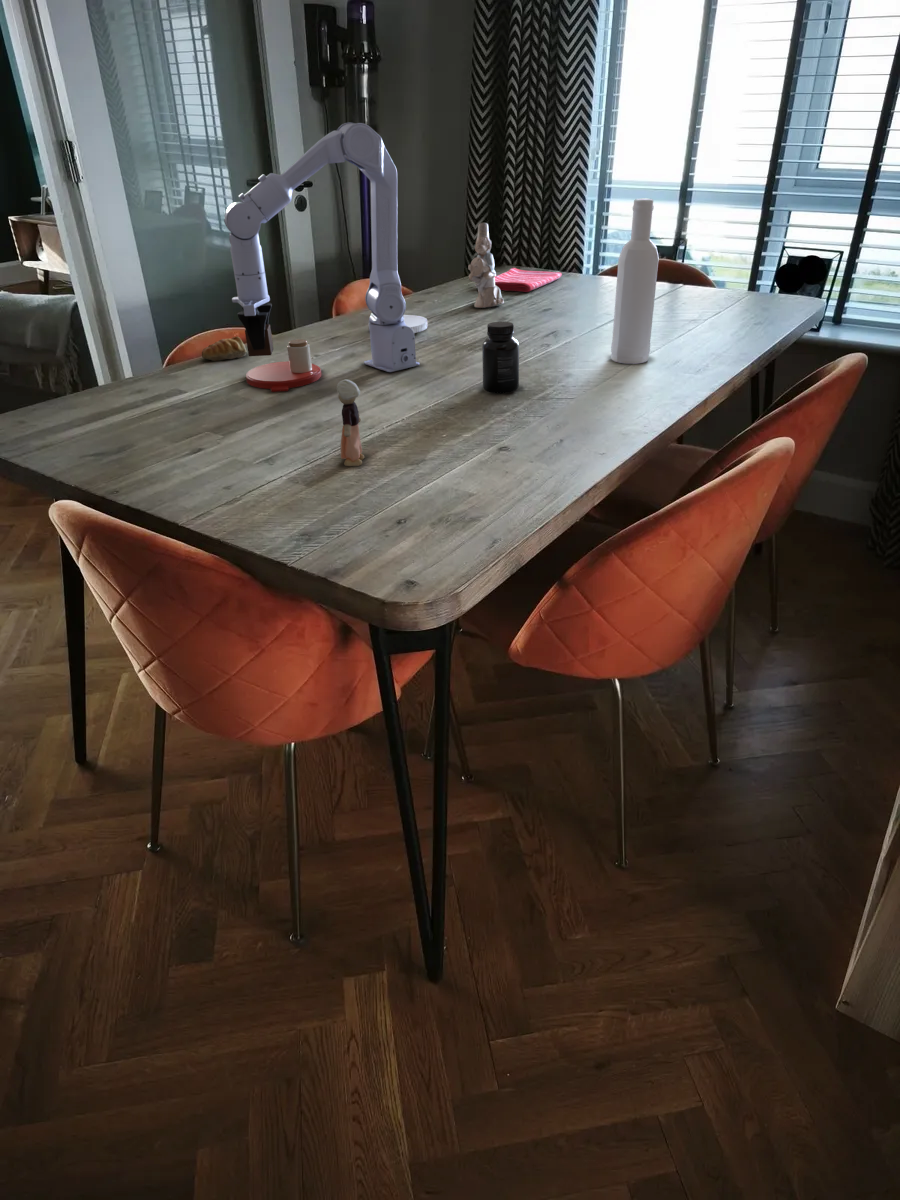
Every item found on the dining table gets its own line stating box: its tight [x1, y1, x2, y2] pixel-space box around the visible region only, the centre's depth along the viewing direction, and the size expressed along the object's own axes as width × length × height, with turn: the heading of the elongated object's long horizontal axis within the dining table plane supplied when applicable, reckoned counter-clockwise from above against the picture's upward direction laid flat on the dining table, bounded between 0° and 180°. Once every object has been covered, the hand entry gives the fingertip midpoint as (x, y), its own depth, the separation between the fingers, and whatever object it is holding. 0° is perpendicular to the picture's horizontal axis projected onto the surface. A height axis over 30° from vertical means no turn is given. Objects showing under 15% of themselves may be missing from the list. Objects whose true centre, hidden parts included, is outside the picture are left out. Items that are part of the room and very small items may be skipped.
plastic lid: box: [367, 314, 428, 334], centre depth 192 cm, size 14×14×2 cm
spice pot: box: [286, 338, 313, 373], centre depth 160 cm, size 4×4×6 cm
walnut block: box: [244, 323, 274, 357], centre depth 158 cm, size 4×4×5 cm
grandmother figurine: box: [336, 379, 365, 467], centre depth 120 cm, size 8×4×13 cm, turn 5°
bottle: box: [610, 197, 660, 365], centre depth 159 cm, size 8×8×30 cm
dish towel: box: [495, 267, 563, 293], centre depth 237 cm, size 17×24×3 cm
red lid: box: [245, 360, 322, 393], centre depth 161 cm, size 17×15×1 cm
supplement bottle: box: [481, 321, 520, 395], centre depth 149 cm, size 7×7×12 cm
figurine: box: [467, 222, 505, 309], centre depth 209 cm, size 9×8×20 cm
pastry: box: [201, 336, 248, 362], centre depth 176 cm, size 9×7×4 cm
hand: (260, 345), depth 159 cm, fingers closed on walnut block, 4 cm apart
